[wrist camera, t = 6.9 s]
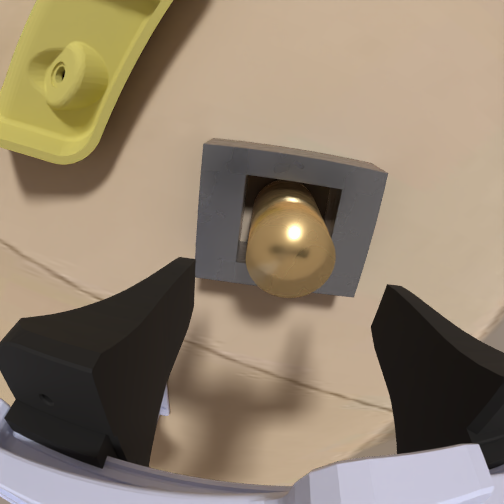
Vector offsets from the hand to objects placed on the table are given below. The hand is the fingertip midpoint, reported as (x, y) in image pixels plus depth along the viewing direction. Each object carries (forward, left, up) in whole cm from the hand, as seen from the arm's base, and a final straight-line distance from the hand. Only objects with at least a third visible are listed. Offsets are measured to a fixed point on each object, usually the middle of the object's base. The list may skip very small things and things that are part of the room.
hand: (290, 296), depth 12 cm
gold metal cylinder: (0, 0, -10) cm, 10 cm away
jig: (0, 0, -10) cm, 10 cm away
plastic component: (+13, +13, -10) cm, 21 cm away
